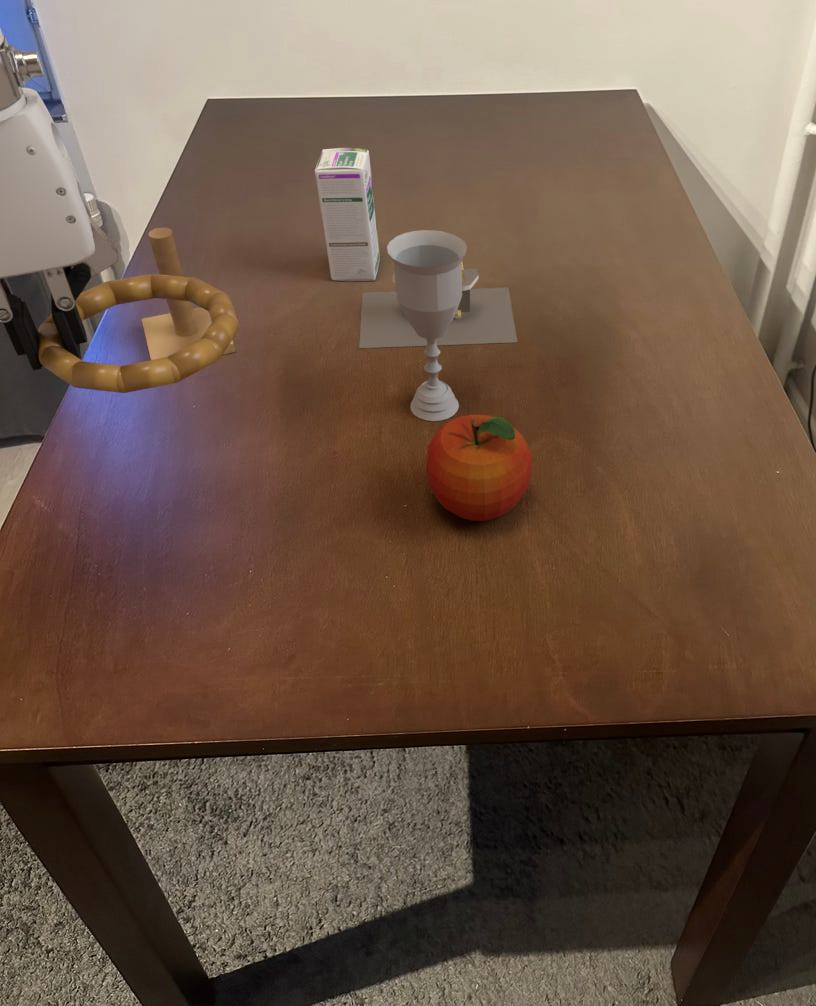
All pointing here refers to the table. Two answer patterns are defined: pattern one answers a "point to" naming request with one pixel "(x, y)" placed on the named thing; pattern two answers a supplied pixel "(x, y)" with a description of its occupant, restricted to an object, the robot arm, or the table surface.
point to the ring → (152, 370)
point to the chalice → (429, 305)
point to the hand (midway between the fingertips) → (56, 353)
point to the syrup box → (348, 213)
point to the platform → (474, 323)
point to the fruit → (478, 466)
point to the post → (173, 306)
